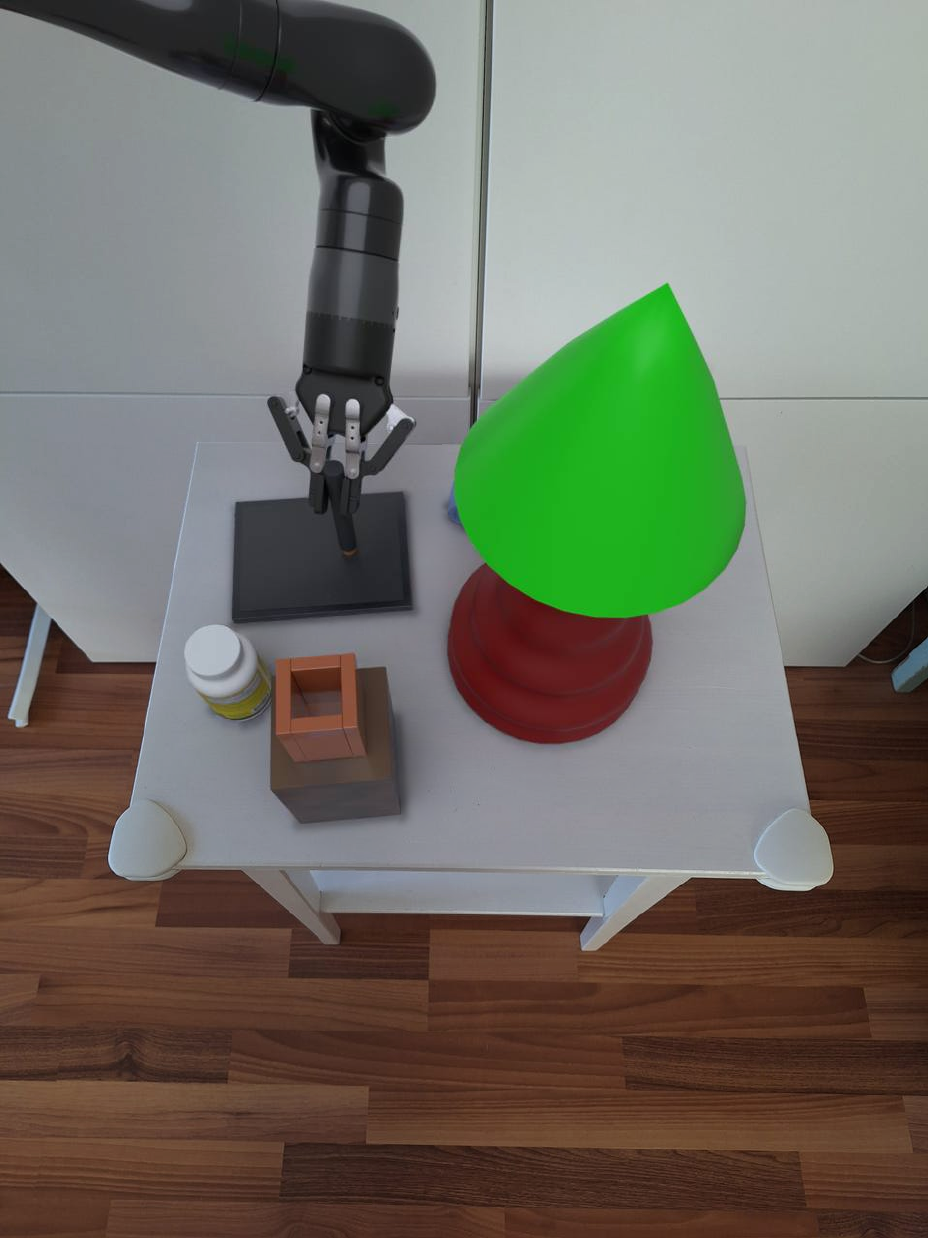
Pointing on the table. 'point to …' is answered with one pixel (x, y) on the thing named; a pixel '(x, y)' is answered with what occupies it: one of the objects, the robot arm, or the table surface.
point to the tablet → (318, 560)
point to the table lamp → (590, 522)
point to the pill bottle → (227, 673)
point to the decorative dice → (453, 507)
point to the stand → (343, 766)
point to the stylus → (343, 526)
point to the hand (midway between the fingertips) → (333, 514)
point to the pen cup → (320, 707)
